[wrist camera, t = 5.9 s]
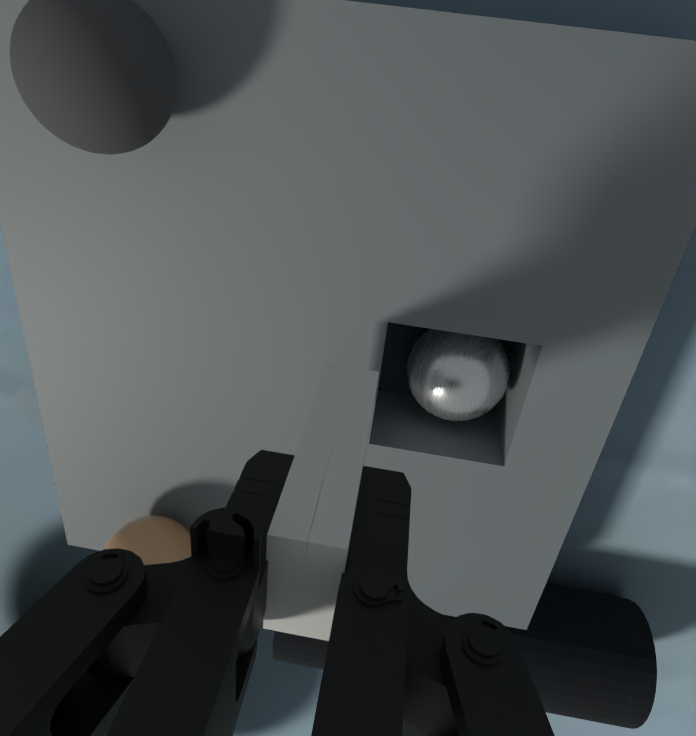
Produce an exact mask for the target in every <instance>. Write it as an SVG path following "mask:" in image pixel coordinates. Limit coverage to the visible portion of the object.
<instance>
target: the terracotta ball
mask: <svg viewBox="0 0 696 736" xmlns="http://www.w3.org/2000/svg"><path fill="white" fill-rule="evenodd" d="M116 548H120V549H125V550H129V551H132V552H134V553H135V554H136V555H138V556H139V557H141V559H142V561H143V564H144V565H151V564H162V563H171V562H176V561H181V560H183V559H186V558H189V557H191V540H190V533H189V531H188V530H187V529H186V528H185V527H184V526H183V525H182V524H180V523H179V522H177V521H175V520H173V519H171V518H168V517H164V516H158V515H151V516H144V517H140V518H137V519H134V520H132V521H130V522H128V523H126V524H125V525H123V526H122V527H121V528H119V529H118V530H117V531H116V532H115V533H114V534H113V535H112V537H111V538H110V539H109V541H108V543H107V544H106V546H105V548H104V549H116Z"/></svg>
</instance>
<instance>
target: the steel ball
mask: <svg viewBox="0 0 696 736" xmlns="http://www.w3.org/2000/svg"><path fill="white" fill-rule="evenodd" d="M407 379H408V383H409V387H410V389H411V392H412V394H413V396H414V397H415V399H416V400H417V401H418V403H419V404H420V405H421V406H422V407H423V408H424V409H425V410H427V411H428V412H430V413H431V414H433V415H435V416H437V417H439V418H442V419H445V420H451V421H466V420H471V419H474V418H477V417H480V416H482V415H483V414H485V413H487V412H488V411H490V410H491V409H492V408H493V407H494V406H495V405H496V404H497V403H498V402H499V400H500V399H501V398H502V396H503V394H504V392H505V390H506V388H507V385H508V380H509V361H508V357H507V354H506V352H505V349H504V347H503V346H502V344H501V342H500V341H499V340H498V339H495V338H488V337H481V336H475V335H468V334H462V333H455V332H449V331H442V330H436V329H429V330H427V331H426V332H425V333H424V334H422V335H421V336H420V338H419V339H418V340H417V341H416V343H415V344H414V346H413V348H412V350H411V352H410V355H409V358H408V362H407Z"/></svg>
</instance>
